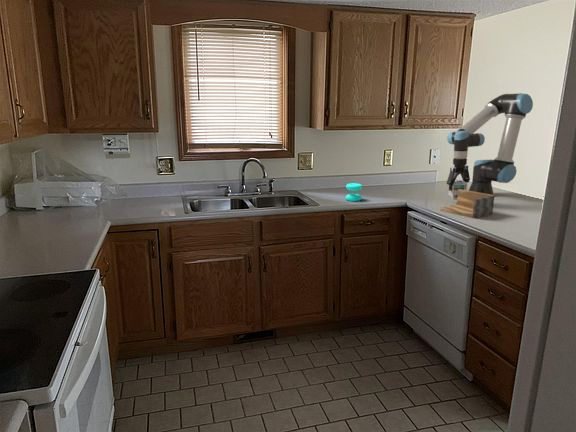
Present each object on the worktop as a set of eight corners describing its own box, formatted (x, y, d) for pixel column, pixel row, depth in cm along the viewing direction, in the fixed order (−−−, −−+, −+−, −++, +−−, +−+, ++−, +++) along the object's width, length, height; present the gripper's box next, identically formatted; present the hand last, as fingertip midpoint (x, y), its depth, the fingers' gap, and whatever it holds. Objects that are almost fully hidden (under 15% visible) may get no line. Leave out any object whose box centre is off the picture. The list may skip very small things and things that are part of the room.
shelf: (457, 206, 258) (459, 189, 255) (492, 214, 241) (494, 195, 238) (440, 210, 249) (441, 192, 247) (474, 218, 232) (476, 198, 229)
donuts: (359, 182, 280) (364, 185, 271) (358, 198, 283) (363, 201, 273) (344, 183, 279) (348, 186, 269) (343, 198, 281) (348, 202, 272)
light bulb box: (464, 200, 258) (466, 182, 256) (452, 200, 260) (453, 182, 257) (461, 196, 268) (462, 178, 266) (450, 196, 270) (451, 178, 267)
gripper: (467, 155, 267) (464, 190, 273) (441, 159, 254) (439, 196, 260) (478, 156, 261) (475, 192, 267) (452, 160, 248) (450, 198, 254)
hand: (457, 194), depth 263 cm, fingers closed on light bulb box, 12 cm apart
